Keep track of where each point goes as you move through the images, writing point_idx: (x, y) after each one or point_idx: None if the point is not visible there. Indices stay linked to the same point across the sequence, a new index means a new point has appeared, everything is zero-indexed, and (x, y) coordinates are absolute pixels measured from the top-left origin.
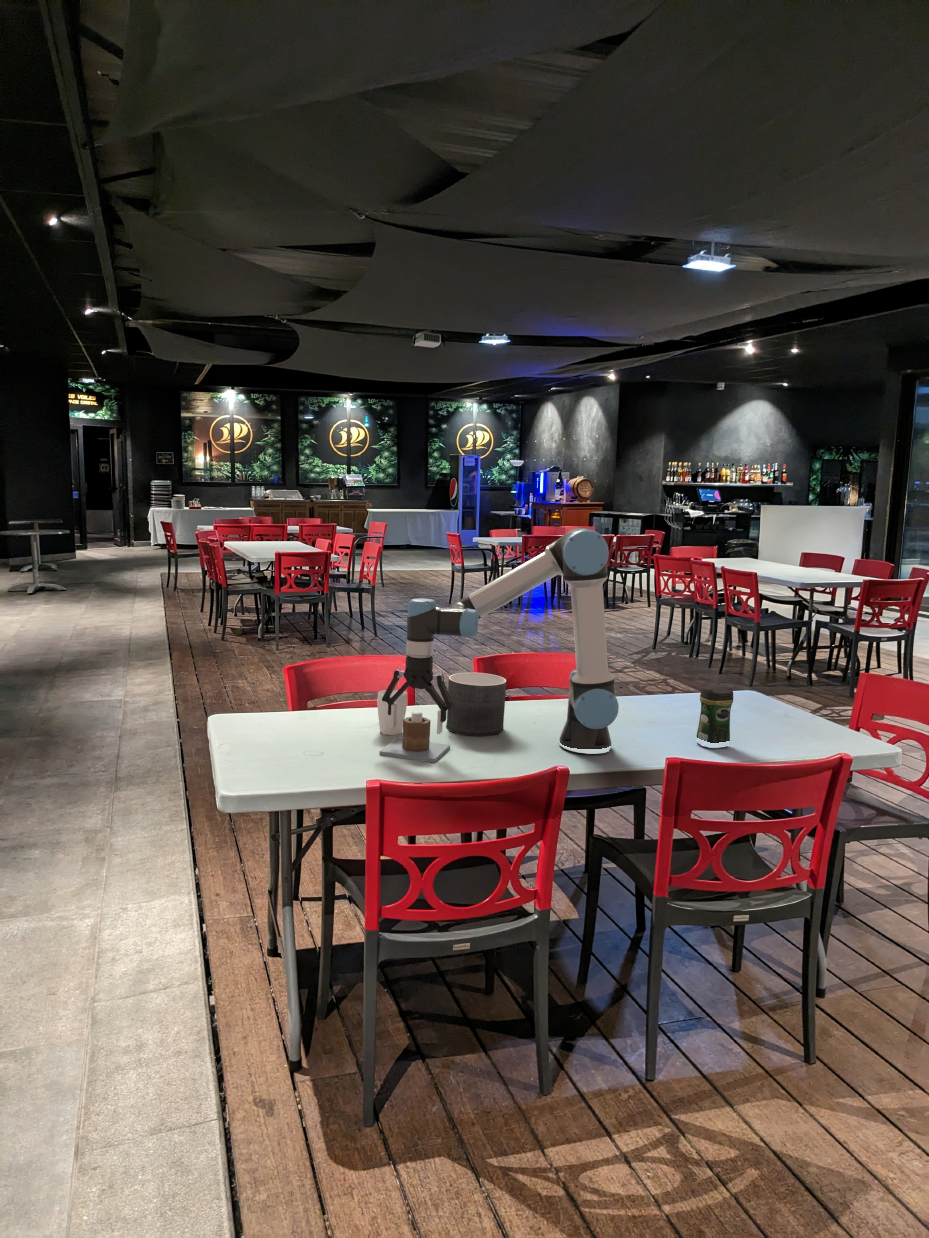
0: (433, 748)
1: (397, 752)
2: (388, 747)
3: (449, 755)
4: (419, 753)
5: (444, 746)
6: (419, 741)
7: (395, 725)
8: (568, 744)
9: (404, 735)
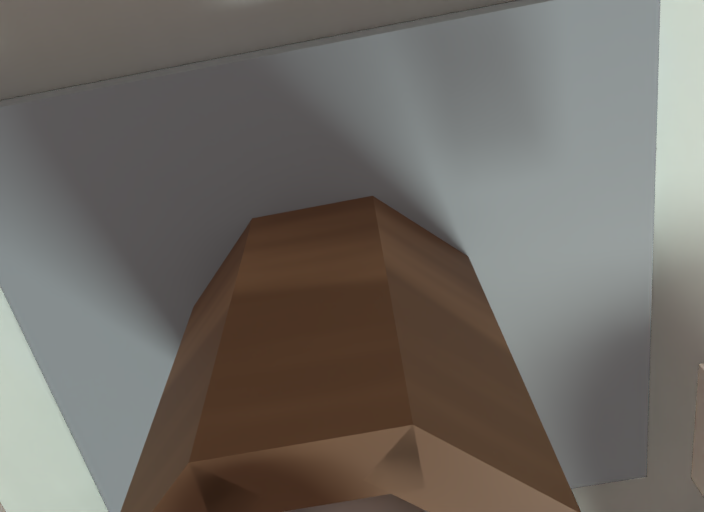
0: None
1: (431, 71)
2: (610, 174)
3: (6, 385)
4: (194, 192)
5: None
6: (219, 304)
7: (698, 458)
8: None
9: (460, 315)
